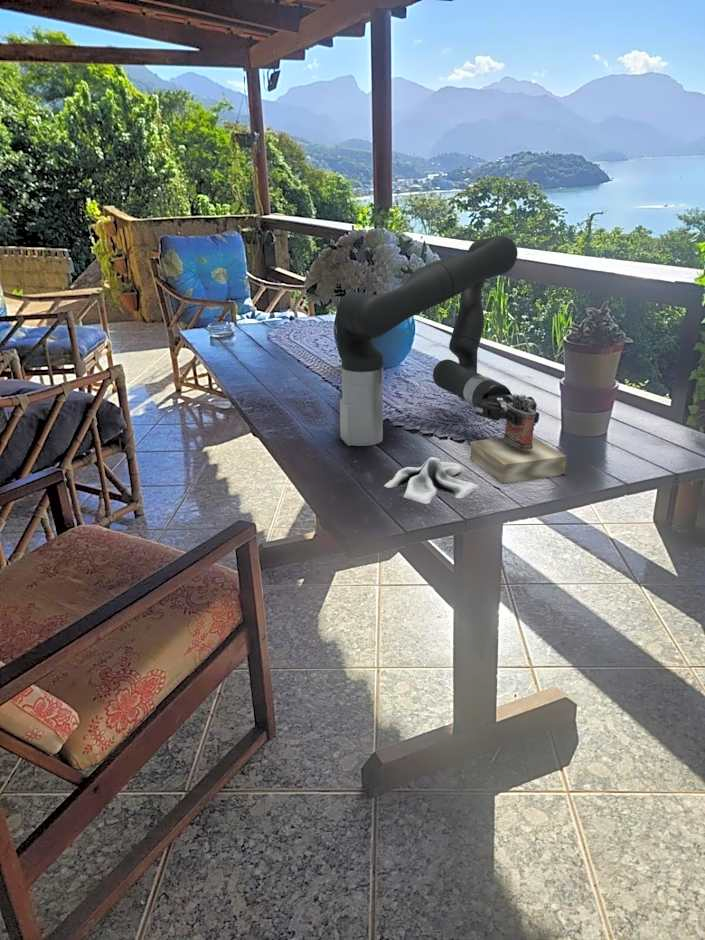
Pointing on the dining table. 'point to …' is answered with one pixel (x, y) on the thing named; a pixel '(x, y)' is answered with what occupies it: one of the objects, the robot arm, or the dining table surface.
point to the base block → (517, 460)
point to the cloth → (432, 480)
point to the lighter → (524, 431)
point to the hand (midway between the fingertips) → (528, 419)
